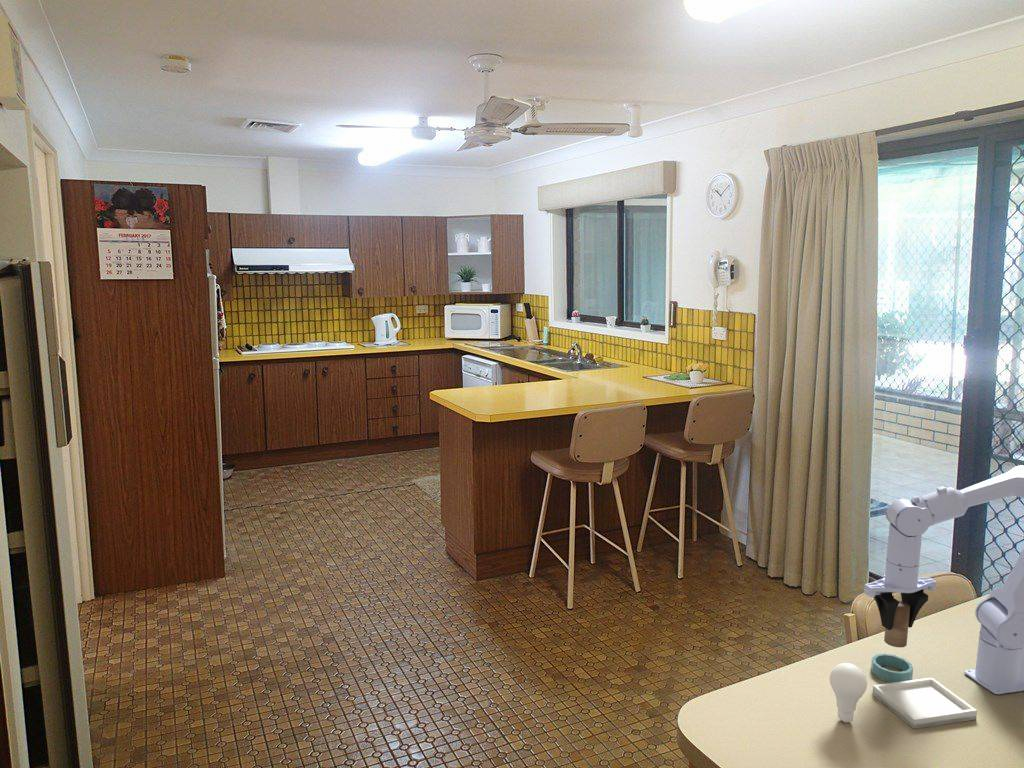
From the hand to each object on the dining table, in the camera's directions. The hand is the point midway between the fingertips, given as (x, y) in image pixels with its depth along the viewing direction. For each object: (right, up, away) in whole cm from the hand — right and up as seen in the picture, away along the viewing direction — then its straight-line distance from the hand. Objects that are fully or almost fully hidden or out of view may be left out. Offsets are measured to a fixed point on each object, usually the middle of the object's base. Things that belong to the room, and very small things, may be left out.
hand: (896, 626), depth 150 cm
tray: (0, -12, -9) cm, 15 cm away
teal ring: (0, -10, +2) cm, 10 cm away
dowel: (0, -3, +1) cm, 3 cm away
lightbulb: (-16, -13, -13) cm, 25 cm away
